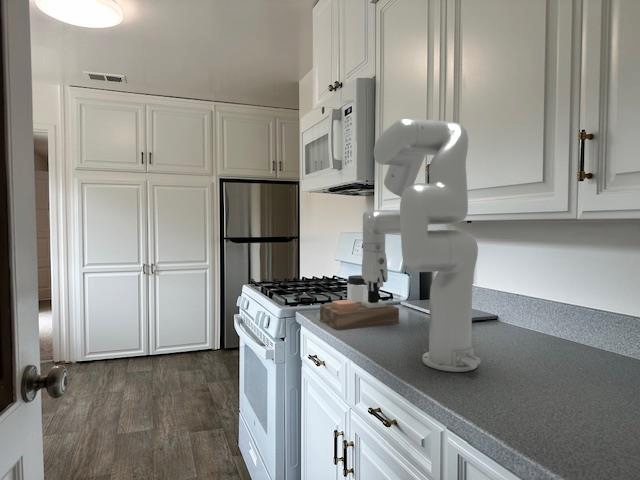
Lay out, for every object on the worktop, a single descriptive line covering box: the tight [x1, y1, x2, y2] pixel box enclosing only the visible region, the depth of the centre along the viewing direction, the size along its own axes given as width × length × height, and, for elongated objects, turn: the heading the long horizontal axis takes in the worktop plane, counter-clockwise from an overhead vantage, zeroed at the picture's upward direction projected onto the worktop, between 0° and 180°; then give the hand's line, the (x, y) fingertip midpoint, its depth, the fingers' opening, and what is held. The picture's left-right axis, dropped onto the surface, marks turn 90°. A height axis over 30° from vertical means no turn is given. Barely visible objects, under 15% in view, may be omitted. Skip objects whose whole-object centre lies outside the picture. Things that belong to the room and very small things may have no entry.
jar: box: [346, 274, 368, 302], centre depth 163 cm, size 9×8×12 cm
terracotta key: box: [331, 299, 356, 311], centre depth 139 cm, size 6×6×4 cm
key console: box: [319, 302, 400, 331], centre depth 141 cm, size 14×22×5 cm, turn 113°
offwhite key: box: [361, 300, 387, 308], centre depth 143 cm, size 6×6×4 cm
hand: (373, 302), depth 144 cm, fingers closed
